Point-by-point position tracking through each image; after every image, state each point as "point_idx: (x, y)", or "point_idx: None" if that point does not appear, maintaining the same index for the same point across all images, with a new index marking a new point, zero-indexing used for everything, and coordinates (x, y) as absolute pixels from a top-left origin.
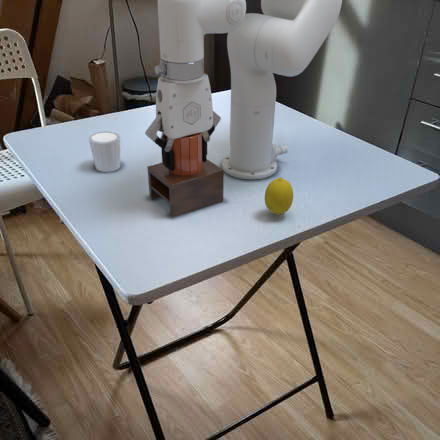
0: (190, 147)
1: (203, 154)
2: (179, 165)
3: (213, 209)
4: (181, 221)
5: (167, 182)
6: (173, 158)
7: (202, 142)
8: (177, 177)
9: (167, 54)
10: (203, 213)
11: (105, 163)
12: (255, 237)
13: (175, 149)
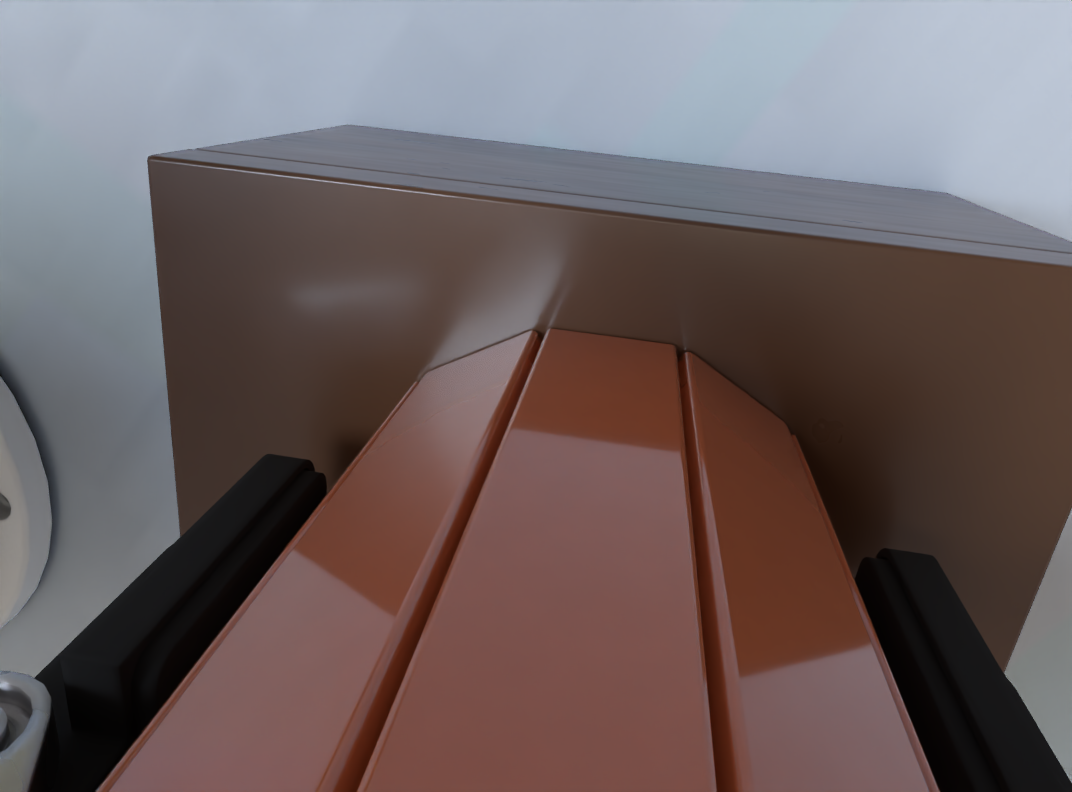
0: (681, 646)
1: (264, 530)
2: (835, 532)
3: (517, 61)
4: (939, 74)
5: None
6: (957, 690)
7: (130, 724)
8: (872, 423)
9: None
10: (650, 61)
11: None
12: None
13: None
